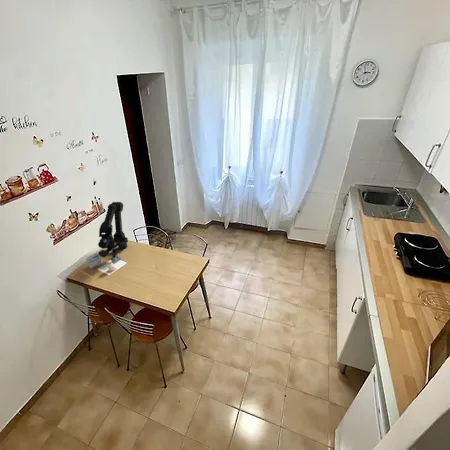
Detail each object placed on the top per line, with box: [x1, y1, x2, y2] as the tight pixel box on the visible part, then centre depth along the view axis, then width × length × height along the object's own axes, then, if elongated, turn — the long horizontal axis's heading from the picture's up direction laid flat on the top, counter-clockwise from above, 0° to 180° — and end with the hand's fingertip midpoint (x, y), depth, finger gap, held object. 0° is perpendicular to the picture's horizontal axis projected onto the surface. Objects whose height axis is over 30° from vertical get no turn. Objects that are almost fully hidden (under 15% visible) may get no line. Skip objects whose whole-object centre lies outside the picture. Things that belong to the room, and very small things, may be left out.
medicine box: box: [85, 252, 102, 270], centre depth 186 cm, size 8×4×9 cm, turn 143°
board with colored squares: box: [97, 255, 127, 276], centre depth 186 cm, size 18×15×3 cm
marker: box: [105, 259, 114, 272], centre depth 180 cm, size 4×4×8 cm
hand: (114, 257), depth 191 cm, fingers closed
